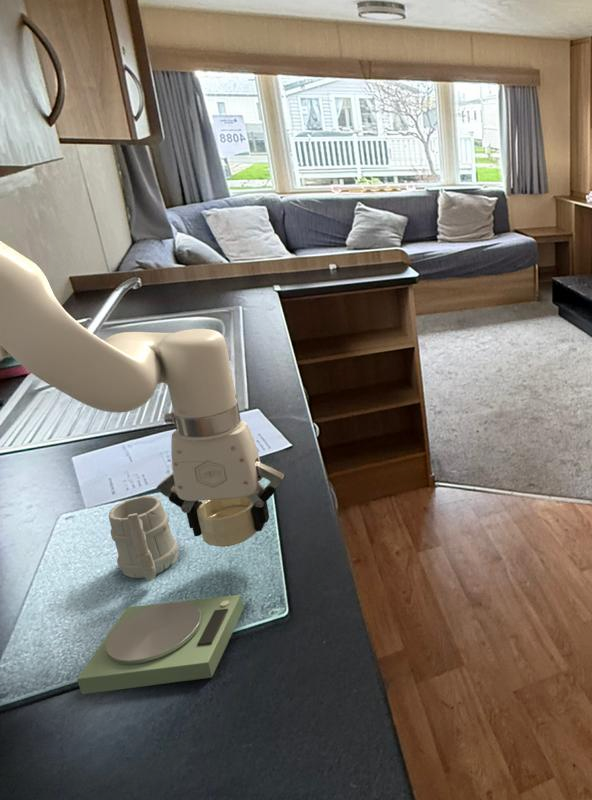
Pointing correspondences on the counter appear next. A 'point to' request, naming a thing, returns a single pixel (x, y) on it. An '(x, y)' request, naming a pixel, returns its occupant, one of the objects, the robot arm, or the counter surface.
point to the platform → (154, 632)
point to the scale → (176, 666)
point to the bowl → (226, 521)
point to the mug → (142, 537)
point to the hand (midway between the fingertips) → (231, 527)
